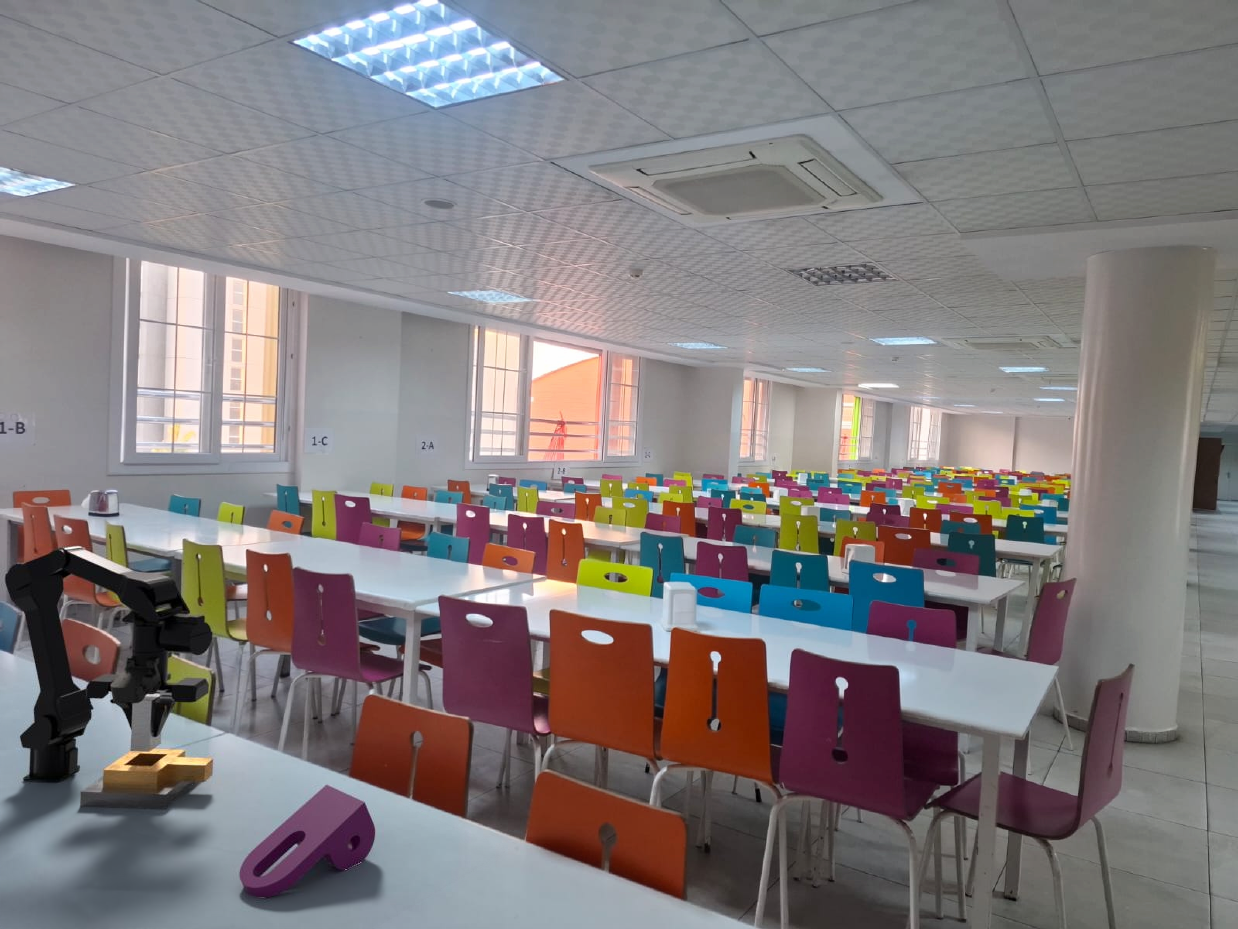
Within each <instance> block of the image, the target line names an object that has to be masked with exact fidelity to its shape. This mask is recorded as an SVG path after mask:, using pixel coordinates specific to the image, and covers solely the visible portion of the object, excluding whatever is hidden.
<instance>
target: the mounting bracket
mask: <svg viewBox="0 0 1238 929" xmlns="http://www.w3.org/2000/svg"><path fill="white" fill-rule="evenodd" d="M367 806H368V805H366V802H365V801H363V800H362V799H359V798H357V797H355V796H352V795H351V794H348V793H346V792H344V791H342V790H339V789H337V788H335V787H333V786H330V785H328V784H325V785H324V786H323V787H322V788H320V790H319V791H317V792H316V793H315V794H314V795H313V796H312V797H311V798H309V799H308V800H307V801H306V802H305V803H303V805H301V807H299V809H297V810H296V811H295V812H294V813H293V814H292V815H291V816H289V817H288V818H287V819H286V820H284V822H283V823H282V824H280V825H279V826H278V827H276V829H275V830H274V831H273V832H272V833H270V834H269V835H268V836H267V837H265V838H264V840H262V841H261V842H260V843H259V844H257V845H256V847H255V848H253V850H251V851H250V853H248V855H247V856H246V857H245V859H244V860H243V862H242V864H241V866H240V869H239V873H238V874H239V880H240V882H241V884H242V886H243V887H244V889H245V891H246V893H247V894H249V895H250V894H251V895H250V896H252V895H253V896H252V897H256V898H259V897H267V898H270V897H273V896H276V895H277V896H278V895H279V894H281V893H283V892H285V891H287V890H289V888H291V887H292V886H294V885H295V884H296V883H297V882H298V881H299V880H300V879H301V878H302V877H303V876H304V875H305V874H306V873H308V872H309V870H311V869H312V868H313V867H314V866H315V865H316V864H317V863H318V862H319V861H320V860H322V858H324V860H325V862H327V863H328V864H329V865H332V866H333V867H334V868H337V869H338V870H340V871H346V870H345V869H348V868H350V867H352V866H354V865H356V864H358V863H360V862H362V863H363V862H364V861H365V859H367V857H368V856H369V854H370V853H371V850H372V848H373V846H374V843H375V839H376V827H375V826H376V825H375V823H374V820H373V818H372V816H371V814H370V812H369V809H368V807H367ZM295 845H297V846H296V847H294V846H295ZM293 847H294V849H293V850H292V851H291V852H289V851H290V850H291V849H292V848H293ZM287 852H289V854H288V855H286V856H285V857H284V858H283V859H282V860H281V861H280V862H279V863H278V864H276V862H278V861H279V860H280V859H281V858H282V857H283V856H284V855H285V854H287ZM274 864H276V866H275V867H273V868H272V869H271V871H269V872H268V873H265V872H267V871H268V870H269V869H270V868H271V867H272V866H273V865H274ZM360 864H361V863H360ZM358 865H359V864H358ZM356 866H357V865H356ZM354 867H355V866H354ZM352 868H353V867H352ZM350 869H351V868H350ZM348 870H349V869H348ZM263 874H264V875H263Z"/></svg>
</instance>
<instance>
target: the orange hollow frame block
mask: <svg viewBox="0 0 1238 929" xmlns="http://www.w3.org/2000/svg"><path fill="white" fill-rule="evenodd" d="M213 769H214V758H211V757H208V758H207V757H188V756H187V757H186V750H185V749H170V748H169V749H168V748H167V749H166V748H164V749H163V748H154V749H153V750H151V751H150V752H140V751H129V752H127V753H126V754H124V755H123V756H122V757H120V758H119V759H117V760H115V762H113V763H111V764H110V765H108V766H107V767H105V768H104V769H103V770H102V771H103V772H102V773H103V775H102V776H101V777H100V778H98V779H97V780H95V781H94V782H92V783H91V784H89V785H88V786H87V787H85V788H83V789H82V790H81V791H80V800H79V802H80V805H79V807H92V808H94V807H95V808H117V809H118V808H119V809H121V808H124V809H148V808H150V809H151V808H153V809H154V808H155V809H154V810H156V809H157V810H166V809H167V808H168V807H170V805H171V804H172V803H174V802H175V801H176V800H177V799H178V798H180V797H181V794H184V793H185V792H186V791H187V790H189V789H190V788H191V787H192V786H193V785H194V784H195V783H205V782H206V781H207V780H209V779H210V777H212V776H213V772H214V770H213ZM192 784H193V785H192ZM185 790H186V791H185ZM173 801H174V802H173Z"/></svg>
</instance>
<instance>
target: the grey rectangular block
mask: <svg viewBox="0 0 1238 929" xmlns="http://www.w3.org/2000/svg"><path fill="white" fill-rule="evenodd" d="M159 699H160V694H147V695H146V696H145V697H144V699H143V700H142V701H141V702H139V703H133V707H132V729H131V728H130V730H131V732H130V734H131V735H130V751H140V752H150V751H151V750H153V749H156V748H157V747H158V746H159V745H160V744H162V731H161V732H160V734H159V736H157V737H154V721H155V711H156V709H155V707H154V705H153V703H154V702H156V701H157V700H159ZM130 751H129V752H130Z"/></svg>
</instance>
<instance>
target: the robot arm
mask: <svg viewBox="0 0 1238 929" xmlns="http://www.w3.org/2000/svg"><path fill="white" fill-rule="evenodd" d="M72 575H73V576H76V577H78V578H80V579H83V581H84V580H85V581H87V582H89V583H91V584H93V585H96V586H98V587H100V588H102V589H104V590H107V591H108V592H109V591H110V592H112V593H113V594H115V595H116V596H117V597H118V599H119V601H120V603H121V604H122V605H124V606H126V607H127V608H128V609H130V610H131V611H130V612H129V613H128V614H126V615H125V616H124V617H122V618H121V622H122V623H129V624H132V637H131V653H130V654H131V655H130V656H129V657H127V659H126V661H125V662H126V663H125V664H126V665H125V667H124V670H123V671H122V672H120V673H119V674H114V673H111V674H110V673H104V674H102V675H100V676H98V677H96V678H94V679H92V680H90V681H89V682H88V683H87V685H86V687H85V688H83V689H81V688H80V687H79V686H78V685H77V684H76V683H75V682H74V680H73V677H72V676H73V675H72V670H71V666H70V661H69V658H68V651H67V647H66V646H67V645H66V643H65V637H64V632H63V627H62V623H61V622H62V621H61V616H60V612H59V607H58V605H59V602H60V600H61V598H62V594H63V593H64V590H65V589H64V588H65V587H64V586H65V584H64V580H65V579H67V578H68V577H71V576H72ZM4 582H5V586H6V588H7V592H8V594H9V597H10V600H11V601H12V602H13V604H14V605H16V607H18V608H19V609H20V610H21V611H22V612H23V614H24V618H25V622H26V626H27V630H28V636H29V640H30V645H31V647H30V648H31V652H32V655H33V660H34V666H35V671H36V674H37V675H36V676H37V679H38V680H37V681H38V685H39V689H40V690H39V694H38V696H37V699H36V701H35V704H34V706H33V721H34V722H33V723H31V725H29V726H28V728H27V729H26V730H24V731H23V733H22V734H20V736H19V739H20V744H21V747H22V748H23V749H28V750H29V766H28V767H29V769H28V771H29V772H28V774H27V775H25V776H23V777H22V781H25V782H48V783H49V782H50V783H51V782H52V783H54V782H55V783H56V782H57V783H59V782H61V781H63V780H64V779H67V777H69V776H71V775H72V774H74V773H75V772H76V771H78V770H79V769H81V766H80V764H78V761H79V760H78V759H79V748H78V747H76V746H77V738H78V737H81V736H84V735H85V731H86V728H87V725H88V724H89V722H90V721H91V720H92V711H93V710H94V709H95V708H94V705H93V704H92V702H91V699H95V700H96V699H97V700H102V699H104V698H105V697H107V696H108V695H109V694H110V692H111V696H112V697H111V698H112V699H110V700H109V702H110V703H111V704H115V705H116V706H118V707H120V709H121V710H122V711H123V713H124V715H125V717H126V718H125V719H126V720H127V723H128V725H129V728H130V730H131V729H132V707H133V703H139V702H141V701H142V700H143V699H144V697H145V696H146V695H147V694H160V699H159V700H157V701H156V702H154V703H153V705H154V707H155V709H156V711H155V721H154V737H157V736H159V734H160V732H161V733H162V730H163V729H164V726H165V724H166V723H167V722H166V721H167V719H168V718H169V715H170V713H171V712H172V710H173V709H174V707H175V705H176V704H177V703H190V704H191V703H195V702H197V701H200V699H202V698H203V697H205V696H206V695H208V694H209V691H210V690H209V688H210V683H209V682H208V680H207V679H206V677H205V678H204V677H203V678H202V677H201V678H200V677H185V678H183V679H181V680H179V681H178V682H168V681H169V680H171V678H172V673H168V672H169V671H168V668H169V659H170V658H171V657H172V656H173V653H178V654H184V655H192V656H202V655H203V654H204V653H205V652H207V651H208V649H209V648H210V646H211V644H212V640H213V631H212V629H211V626H210V624H208V622H206V620H205V619H206V616H205V615H204V614H191V610H190V608H189V606H188V604H187V603H186V602H185V600H184V598H183V596H182V595H181V593H180V591H179V590H178V589H179V588H178V587H177V585H176V581H175V580H174V578H172V577H170V576H168V575H163V574H159V573H154V572H153V573H152V572H142V571H136V570H132V569H131V568H128V567H127V566H123V565H121V564H119V563H116V562H114V561H112V560H110V559H108V558H105V557H103V556H101V555H98V554H96V553H93V552H91V551H89V550H87V548H86V547H84V546H81V545H74V546H73V545H72V546H64V547H58V548H56V549H55V550H52V551H51V552H48V553H47V554H45V555H41V556H40V557H37V558H34V559H32V560H30V561H29V560H28V561H26V562H21V563H16V564H13V565H11V566H10V568H9V569H8V571H7V572H6V574H5V575H4ZM166 608H167V609H166ZM162 609H163V610H162Z"/></svg>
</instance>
